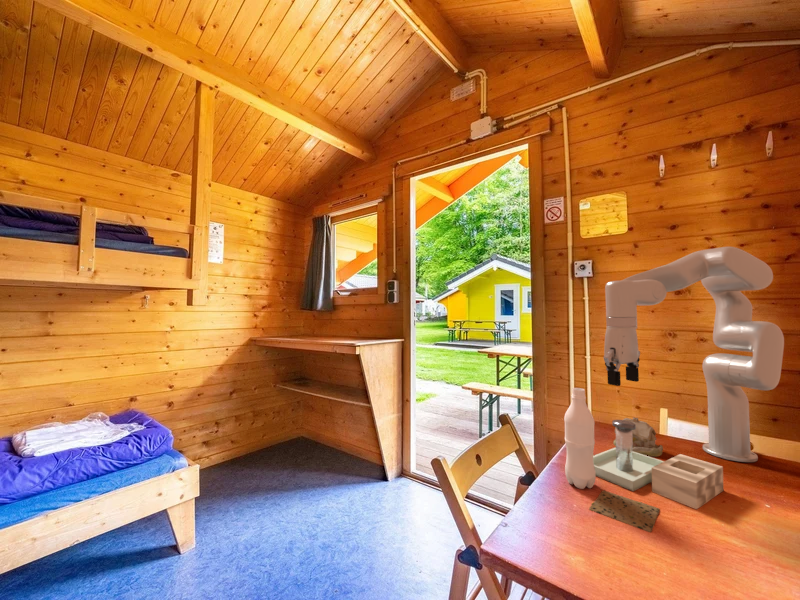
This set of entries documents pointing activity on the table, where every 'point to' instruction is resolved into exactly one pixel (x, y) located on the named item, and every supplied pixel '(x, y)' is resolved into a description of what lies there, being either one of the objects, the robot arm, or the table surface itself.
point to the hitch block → (687, 480)
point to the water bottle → (579, 442)
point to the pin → (624, 444)
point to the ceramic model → (644, 439)
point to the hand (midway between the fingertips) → (623, 382)
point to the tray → (628, 480)
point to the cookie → (626, 510)
